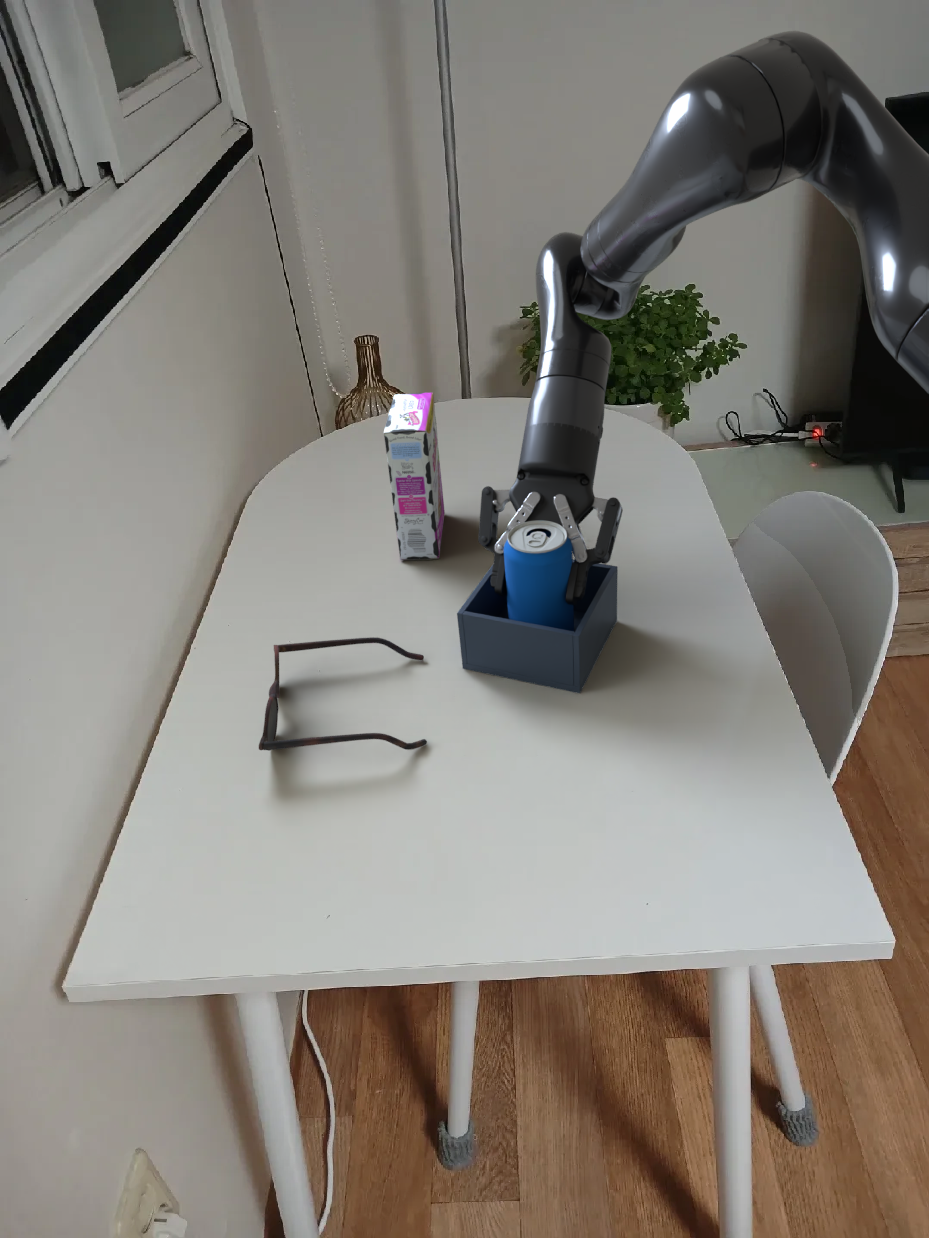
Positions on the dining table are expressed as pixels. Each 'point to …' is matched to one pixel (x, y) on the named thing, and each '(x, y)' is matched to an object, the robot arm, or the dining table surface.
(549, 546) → the beverage can
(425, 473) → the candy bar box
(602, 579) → the bin
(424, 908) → the dining table surface
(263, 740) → the eyeglasses
